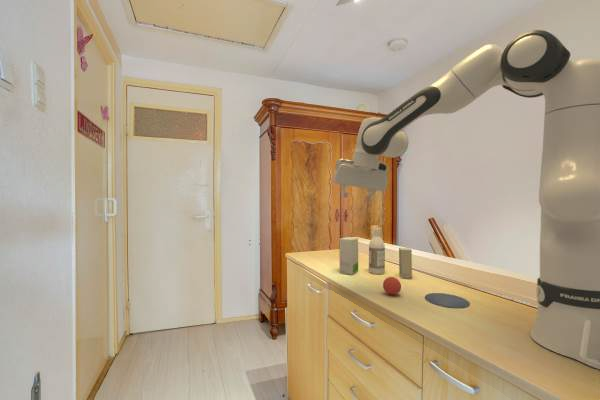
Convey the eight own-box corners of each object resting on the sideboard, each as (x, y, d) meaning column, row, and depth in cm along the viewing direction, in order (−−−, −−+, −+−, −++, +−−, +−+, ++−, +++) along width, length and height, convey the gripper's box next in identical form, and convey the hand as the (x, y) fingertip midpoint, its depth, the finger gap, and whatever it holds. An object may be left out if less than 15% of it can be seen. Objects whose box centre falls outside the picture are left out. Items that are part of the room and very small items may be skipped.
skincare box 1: (352, 275, 120) (352, 239, 120) (338, 273, 123) (338, 238, 123) (358, 271, 127) (359, 237, 127) (345, 269, 130) (345, 236, 130)
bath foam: (367, 270, 129) (367, 227, 129) (382, 270, 128) (382, 227, 128) (370, 274, 122) (370, 229, 122) (386, 274, 121) (386, 229, 121)
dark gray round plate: (464, 296, 95) (464, 295, 95) (474, 310, 82) (474, 309, 82) (423, 291, 99) (423, 291, 99) (426, 304, 87) (426, 304, 87)
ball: (400, 292, 98) (401, 275, 98) (401, 298, 92) (401, 280, 92) (383, 290, 100) (383, 274, 100) (382, 296, 94) (382, 278, 94)
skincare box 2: (412, 279, 115) (412, 250, 115) (400, 278, 115) (401, 249, 115) (409, 275, 121) (409, 247, 121) (398, 274, 122) (398, 247, 122)
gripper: (339, 157, 97) (331, 196, 99) (393, 167, 100) (384, 204, 102) (335, 157, 103) (328, 193, 106) (386, 166, 106) (378, 201, 109)
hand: (356, 198), depth 104 cm, fingers open, 8 cm apart
